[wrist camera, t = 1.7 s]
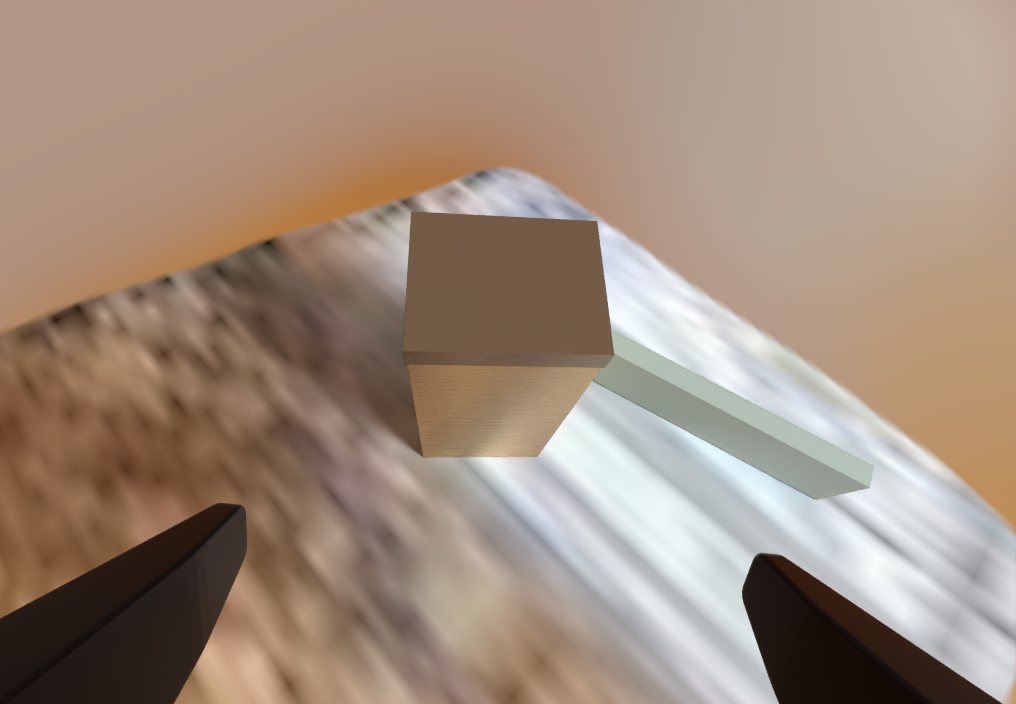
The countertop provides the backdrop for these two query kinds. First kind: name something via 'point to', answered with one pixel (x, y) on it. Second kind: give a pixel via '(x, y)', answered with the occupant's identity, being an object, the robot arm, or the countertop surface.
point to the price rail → (732, 422)
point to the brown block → (501, 329)
